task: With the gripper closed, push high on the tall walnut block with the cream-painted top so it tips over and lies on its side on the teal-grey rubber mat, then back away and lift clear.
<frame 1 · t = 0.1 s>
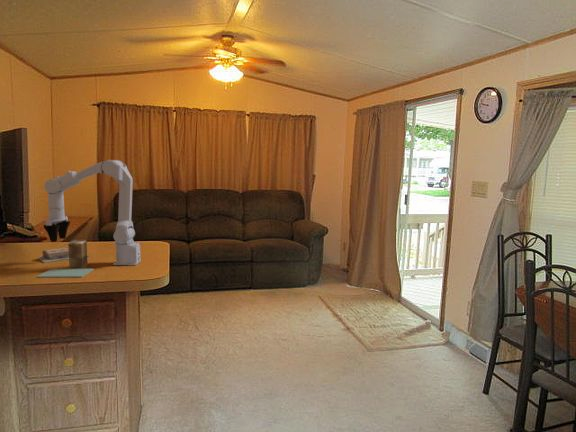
hand: (58, 240, 171), 10 cm above the table, tool pointing down, fingers open, 7 cm apart
mat: (66, 273, 156), on the table
walnut block: (78, 268, 165), on the table
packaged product: (64, 259, 181), on the table
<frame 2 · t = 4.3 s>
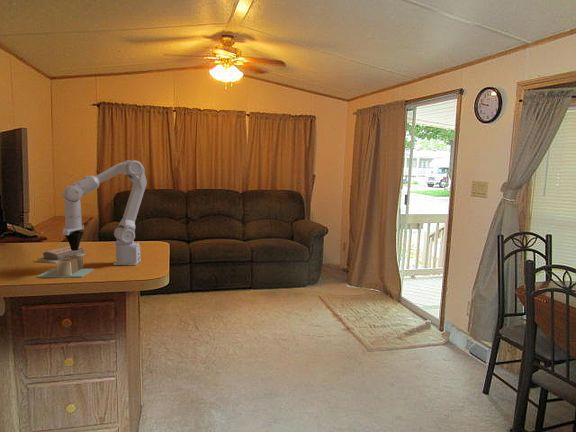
hand: (74, 250, 161), 8 cm above the table, tool pointing down, fingers closed
walnut block: (76, 261, 163), point 3 cm above the table, tilted 90°, touching mat
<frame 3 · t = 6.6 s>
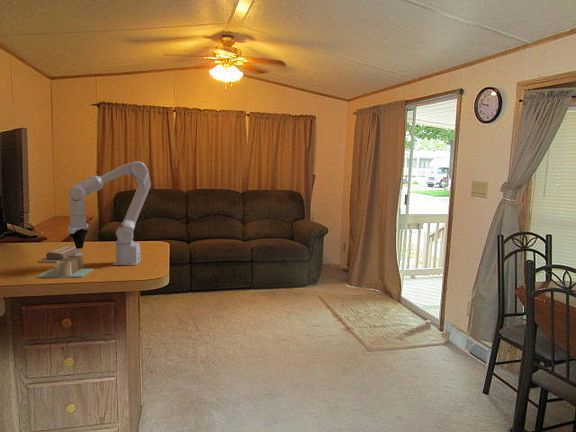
hand: (79, 248, 165), 8 cm above the table, tool pointing down, fingers closed
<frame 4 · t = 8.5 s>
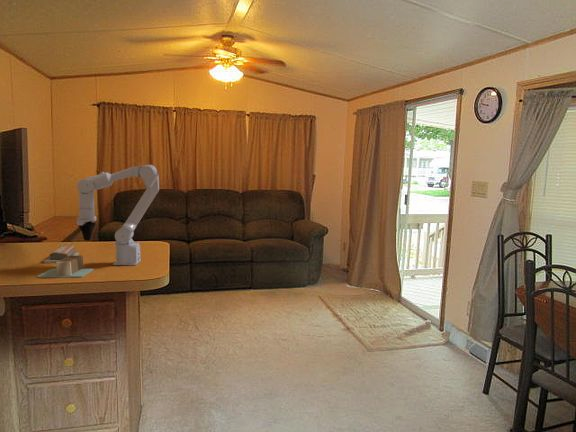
hand: (87, 240, 169), 10 cm above the table, tool pointing down, fingers closed
at the end: walnut block tilted 90°; walnut block touching mat; walnut block inside the target area (7.1 cm from its centre), point 3.0 cm above the table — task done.
